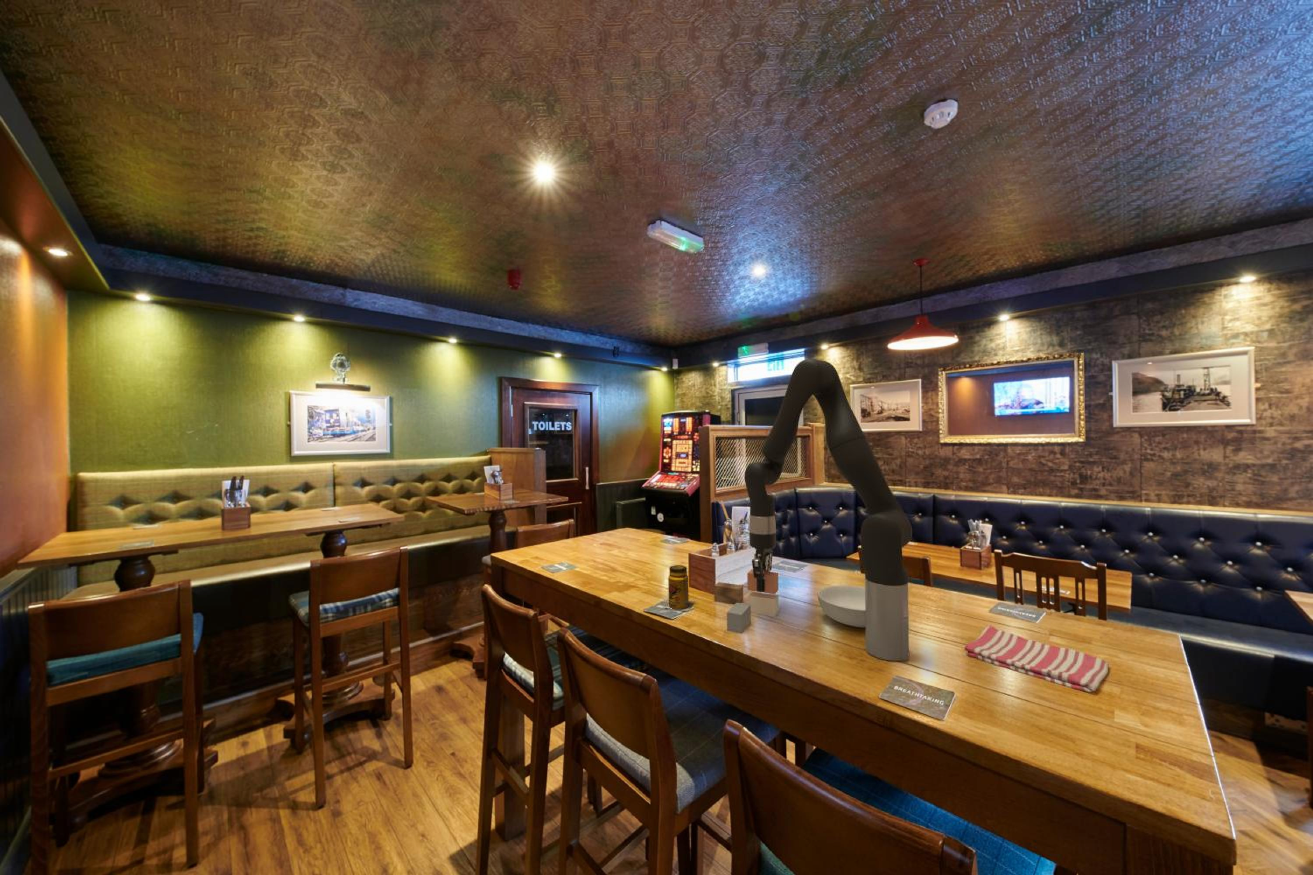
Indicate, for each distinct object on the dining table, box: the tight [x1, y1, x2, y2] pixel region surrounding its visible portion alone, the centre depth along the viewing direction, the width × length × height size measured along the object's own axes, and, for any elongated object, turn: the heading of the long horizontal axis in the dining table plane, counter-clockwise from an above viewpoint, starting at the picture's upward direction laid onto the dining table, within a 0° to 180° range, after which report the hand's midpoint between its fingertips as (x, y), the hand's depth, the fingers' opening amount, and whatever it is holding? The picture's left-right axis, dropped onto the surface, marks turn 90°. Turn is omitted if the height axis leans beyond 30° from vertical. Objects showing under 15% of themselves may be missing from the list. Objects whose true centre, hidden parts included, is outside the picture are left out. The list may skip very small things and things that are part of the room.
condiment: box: [666, 564, 696, 612], centre depth 146 cm, size 7×8×12 cm
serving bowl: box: [817, 584, 865, 629], centre depth 132 cm, size 21×21×7 cm
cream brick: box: [747, 591, 780, 617], centre depth 140 cm, size 8×4×5 cm, turn 63°
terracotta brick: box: [746, 569, 779, 595], centre depth 139 cm, size 8×4×5 cm, turn 62°
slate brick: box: [726, 602, 752, 634], centre depth 130 cm, size 8×4×5 cm, turn 152°
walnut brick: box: [713, 581, 744, 606], centre depth 149 cm, size 8×4×5 cm, turn 62°
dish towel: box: [963, 625, 1110, 694], centre depth 108 cm, size 17×23×4 cm
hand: (763, 588), depth 139 cm, fingers closed on terracotta brick, 3 cm apart
